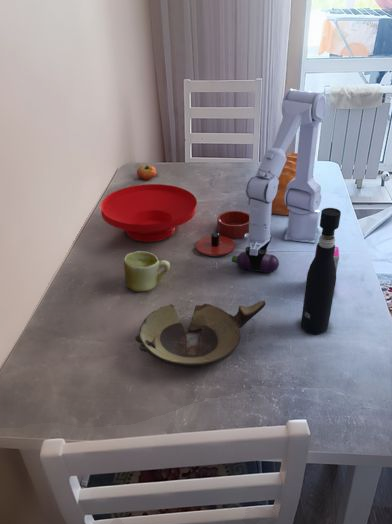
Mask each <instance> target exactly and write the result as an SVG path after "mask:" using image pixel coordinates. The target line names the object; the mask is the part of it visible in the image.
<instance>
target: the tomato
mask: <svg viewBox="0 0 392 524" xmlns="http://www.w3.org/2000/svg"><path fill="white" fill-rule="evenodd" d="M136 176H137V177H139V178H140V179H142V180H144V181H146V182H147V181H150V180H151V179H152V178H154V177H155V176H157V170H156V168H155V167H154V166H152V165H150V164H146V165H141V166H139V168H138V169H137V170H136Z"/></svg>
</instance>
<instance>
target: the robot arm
mask: <svg viewBox="0 0 392 524" xmlns="http://www.w3.org/2000/svg"><path fill="white" fill-rule="evenodd" d="M326 108H327V98H326V96H325V94H324V93H323V92H315V91H314V92H313V91H308V90H307V91H306V90H299V89H294V88H289V89H287V91H286V92H285V93H284V95H283V98H282V102H281V115H282V119H281V121H280V124H279V127H278V130H277V132H276V135H275V139H274V142H273V145H272V147H271V148H269V149H266V150H265V153H264V155H263V157H262V159H261V162H260V164H259V166H258V169H257V171H256V173H255V175H254V176H252V177H250V178H249V180H248V181H247V184H246V188H245V196H246V198H247V204H248V205H249V213H248V214H249V233H246V234H245V235H244V237H243V239H245V240H247V241H248V245H249V246H246V247H245V249H244V252H246V254H247V256H248V258H249V260H250V265H251V269H252V270H251V271H253V272H260V271H259V270H260V267H261V263H262V259H263V257H264V255H265V254H267V251H268V250H267V248H268V246H269V244H270V242H271V241H272V235H271V223H272V213H271V209H272V201H273V199H274V198H275V196H276V194H277V189H278V184H279V180H278V178H279V176H280V174H281V172H282V169H283V167H284V165H285V163H286V160H287V159H286V155H287V154H286V152H287V150H288V148H289V147H290V145H291V142H292V141H293V139H294V137H295V135H296V133H297V132H298V130H299V132H298V142H297V143H298V145H297V153H298V154H297V164H296V175H295V178H294V179H292V180H291V181H290V182H289V183H288V184H287V189H286V192H285V195H284V202H285V204H286V205H287V206H288V207H287V209H289V215H288V220H287V229H286V232H285V234H284V237H283V240H286V241H295V242H303V243H312V244H314V243H316V240H317V235H318V234H319V224H320V217H321V211H320V210H318V209H319V207H320V206H321V203H322V193H321V190H322V187H321V184H320V183H318V182H317V180H315V178H314V170H315V169H314V168H315V161H316V152H317V143H318V136H319V127H320V123H323V122H324V121H325V116H326Z"/></svg>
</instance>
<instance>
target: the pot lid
mask: <svg viewBox="0 0 392 524" xmlns="http://www.w3.org/2000/svg"><path fill="white" fill-rule="evenodd" d="M235 248H236V244H235V241H234V239H232V238H228V237H224V236H221V235H220V234H219V233H218V232H212V233H211V234H210V235H208V236H204V237H202V238H200V239H198V240H197V241H196V243H195V249H196V250H197V252H198V253H200V254H202V255H205V256H209V257H221V256H225V255H228V254H231V253H232V252H233V251H234V250H235Z"/></svg>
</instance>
